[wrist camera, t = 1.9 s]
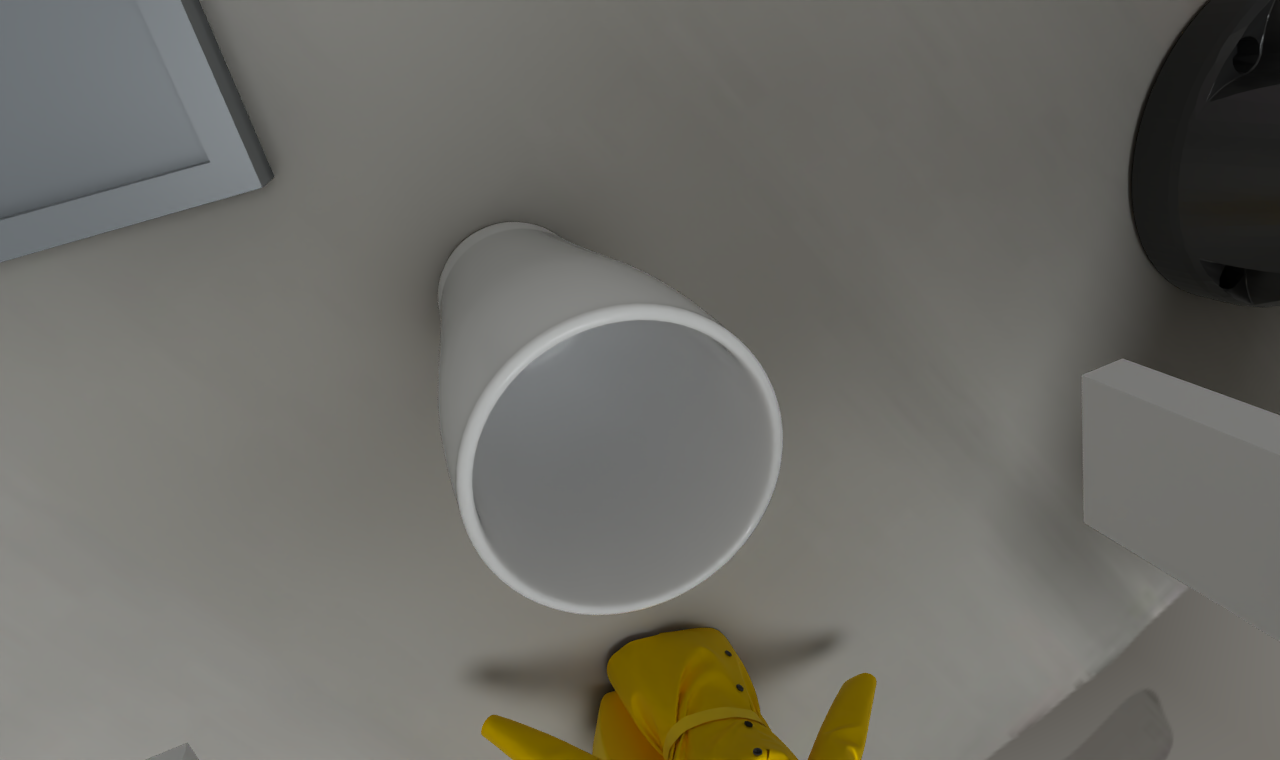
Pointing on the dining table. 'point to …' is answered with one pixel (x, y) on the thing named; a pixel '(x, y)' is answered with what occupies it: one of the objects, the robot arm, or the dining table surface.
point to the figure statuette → (689, 710)
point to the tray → (114, 119)
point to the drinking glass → (596, 424)
